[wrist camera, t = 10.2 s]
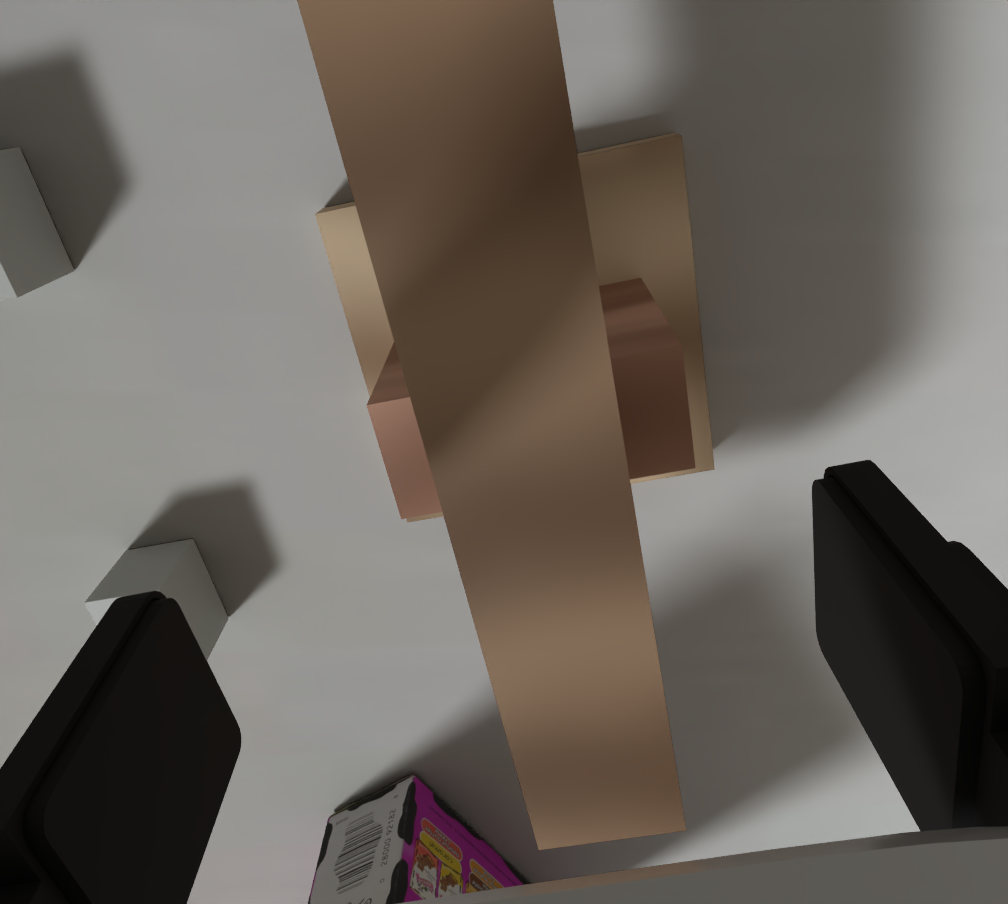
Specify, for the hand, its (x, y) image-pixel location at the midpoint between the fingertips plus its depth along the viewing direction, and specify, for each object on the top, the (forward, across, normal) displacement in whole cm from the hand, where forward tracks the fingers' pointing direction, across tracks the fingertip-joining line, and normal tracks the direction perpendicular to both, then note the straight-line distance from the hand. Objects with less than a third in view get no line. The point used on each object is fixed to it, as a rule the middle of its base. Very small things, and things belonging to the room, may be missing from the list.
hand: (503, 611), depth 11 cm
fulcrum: (+14, -1, +1) cm, 14 cm away
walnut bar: (+7, -1, +1) cm, 7 cm away
